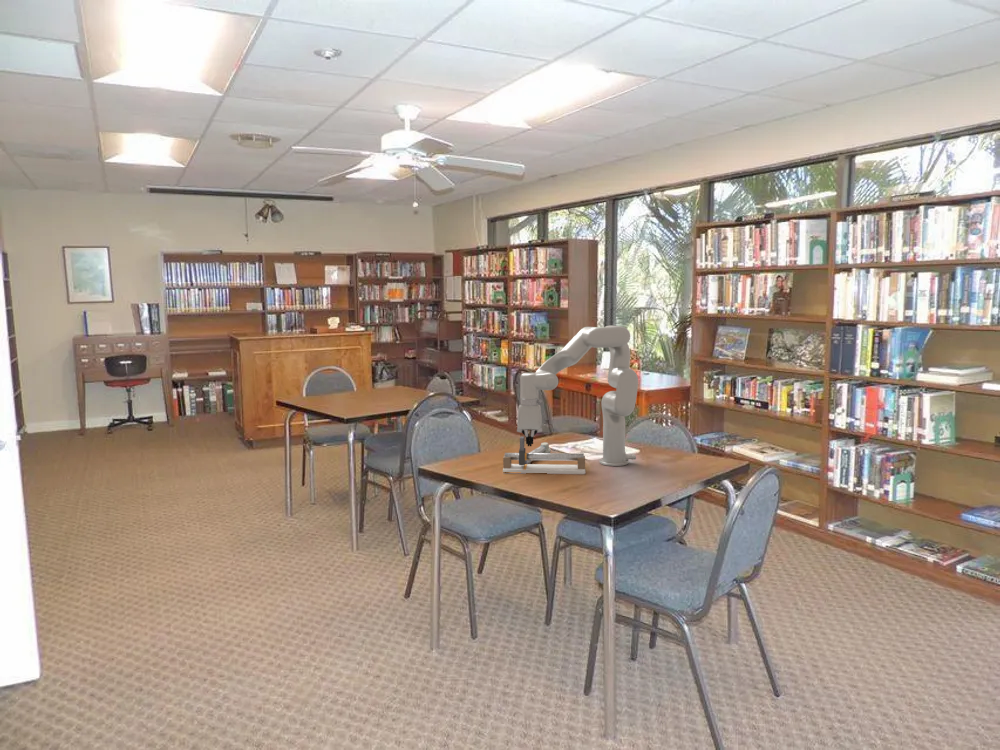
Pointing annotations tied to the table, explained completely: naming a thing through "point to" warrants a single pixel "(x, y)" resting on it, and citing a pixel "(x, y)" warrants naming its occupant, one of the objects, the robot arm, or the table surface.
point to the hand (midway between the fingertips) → (529, 445)
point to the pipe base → (544, 467)
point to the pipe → (547, 456)
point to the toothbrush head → (540, 450)
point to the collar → (522, 452)
